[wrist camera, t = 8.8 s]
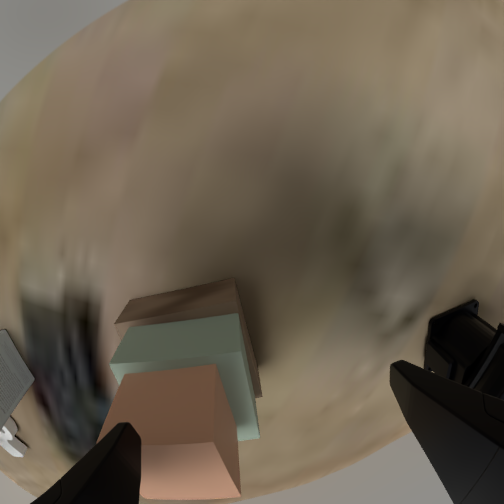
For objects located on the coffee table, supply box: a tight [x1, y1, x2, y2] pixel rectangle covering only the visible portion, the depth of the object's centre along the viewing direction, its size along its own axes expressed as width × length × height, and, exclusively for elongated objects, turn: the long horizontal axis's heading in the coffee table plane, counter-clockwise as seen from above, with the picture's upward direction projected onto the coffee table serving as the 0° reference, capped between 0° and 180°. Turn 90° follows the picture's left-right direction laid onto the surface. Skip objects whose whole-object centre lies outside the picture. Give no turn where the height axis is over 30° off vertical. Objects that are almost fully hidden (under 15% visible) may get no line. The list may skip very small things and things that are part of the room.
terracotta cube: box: [97, 364, 241, 500], centre depth 12 cm, size 5×5×5 cm
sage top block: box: [109, 313, 260, 441], centre depth 17 cm, size 7×7×4 cm
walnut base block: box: [114, 278, 262, 398], centre depth 20 cm, size 8×8×4 cm
